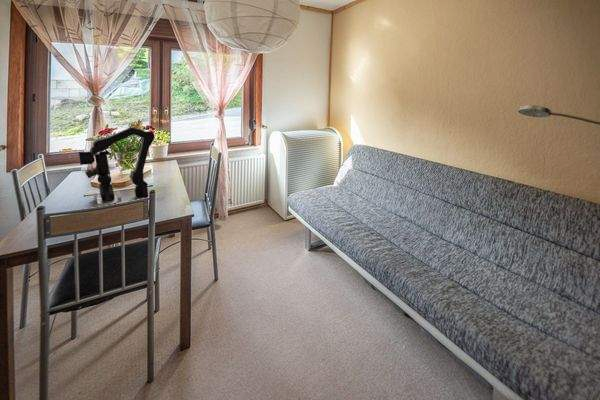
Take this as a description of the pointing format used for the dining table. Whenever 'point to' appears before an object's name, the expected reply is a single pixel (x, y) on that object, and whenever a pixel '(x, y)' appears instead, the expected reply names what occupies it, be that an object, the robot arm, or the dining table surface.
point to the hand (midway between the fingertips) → (106, 190)
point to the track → (99, 202)
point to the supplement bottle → (106, 193)
